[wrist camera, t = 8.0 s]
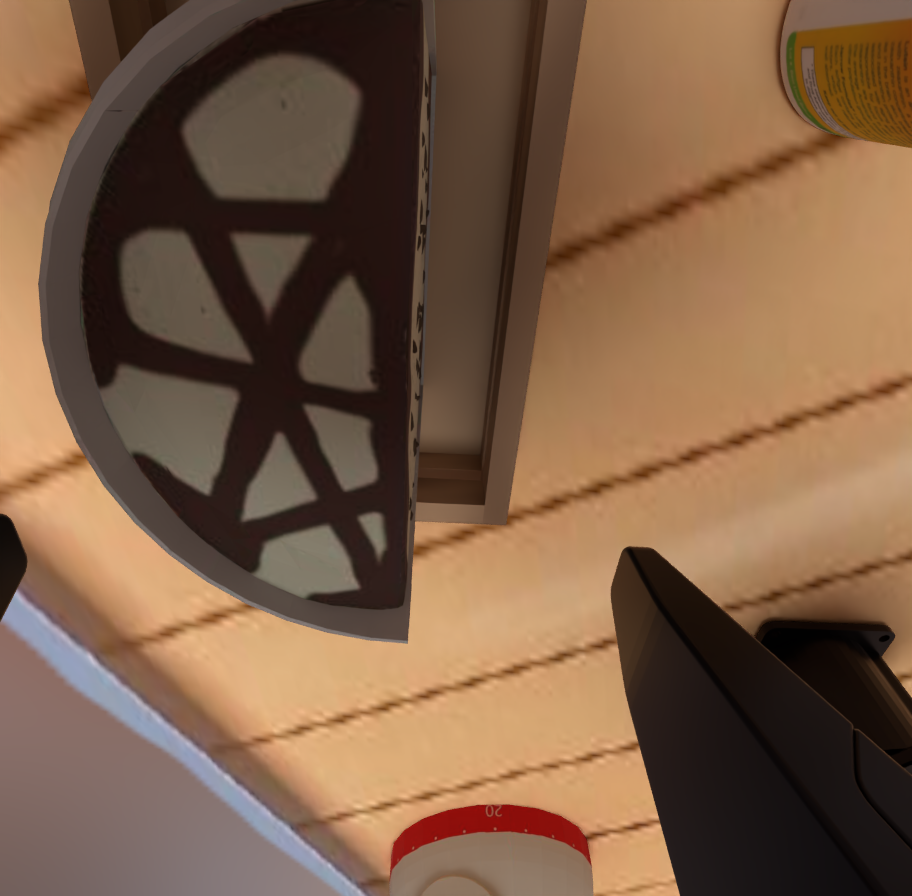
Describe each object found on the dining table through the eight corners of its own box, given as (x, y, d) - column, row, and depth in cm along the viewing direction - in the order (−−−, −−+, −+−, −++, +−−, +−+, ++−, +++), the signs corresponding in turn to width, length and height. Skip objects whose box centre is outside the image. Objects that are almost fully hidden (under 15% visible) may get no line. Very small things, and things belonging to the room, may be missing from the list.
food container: (184, -30, 14) (-198, -174, 6) (440, -7, 14) (435, -114, 6) (248, 415, 21) (114, 652, 12) (421, 424, 21) (406, 659, 13)
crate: (572, -109, 14) (611, -165, 11) (496, 459, 23) (506, 525, 20) (122, -156, 14) (17, -229, 10) (223, 445, 23) (185, 511, 19)
